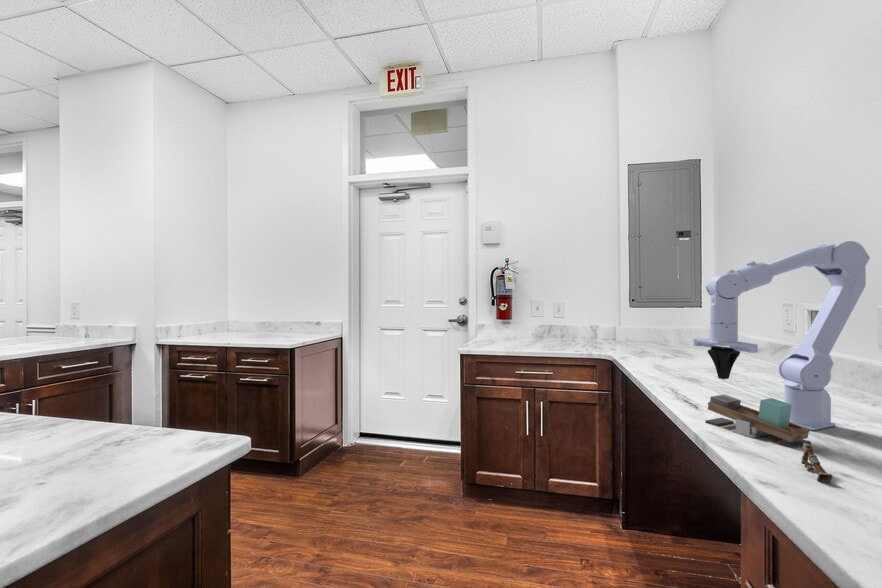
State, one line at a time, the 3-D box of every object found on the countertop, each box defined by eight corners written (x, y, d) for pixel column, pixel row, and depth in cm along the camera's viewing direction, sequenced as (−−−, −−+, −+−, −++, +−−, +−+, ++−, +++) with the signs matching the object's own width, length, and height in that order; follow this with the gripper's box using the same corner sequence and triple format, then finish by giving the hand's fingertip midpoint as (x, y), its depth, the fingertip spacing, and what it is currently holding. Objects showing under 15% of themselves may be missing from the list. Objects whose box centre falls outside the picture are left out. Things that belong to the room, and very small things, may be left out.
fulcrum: (724, 419, 110) (724, 406, 110) (813, 443, 93) (813, 428, 93) (702, 423, 107) (702, 409, 107) (790, 448, 90) (790, 433, 89)
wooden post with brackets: (807, 459, 82) (811, 440, 80) (827, 494, 75) (833, 474, 73) (795, 458, 82) (799, 439, 81) (814, 492, 75) (819, 473, 74)
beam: (724, 409, 109) (726, 394, 109) (807, 441, 93) (810, 423, 93) (706, 412, 107) (708, 396, 106) (789, 445, 90) (792, 427, 90)
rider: (768, 419, 99) (771, 398, 98) (788, 426, 95) (791, 404, 95) (757, 421, 97) (760, 399, 97) (777, 429, 94) (780, 406, 93)
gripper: (685, 321, 114) (685, 374, 114) (744, 326, 100) (744, 385, 101) (703, 321, 117) (703, 372, 117) (763, 325, 103) (762, 382, 103)
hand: (723, 378), depth 109 cm, fingers closed
